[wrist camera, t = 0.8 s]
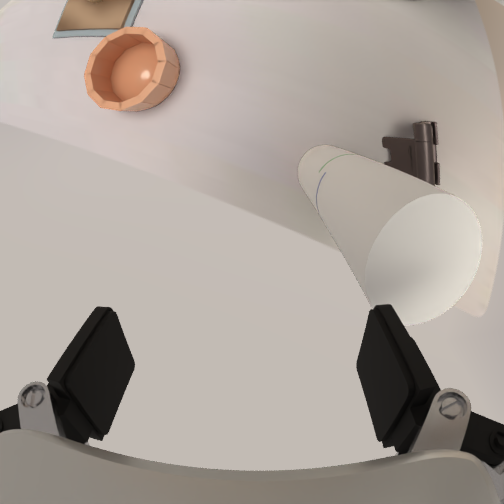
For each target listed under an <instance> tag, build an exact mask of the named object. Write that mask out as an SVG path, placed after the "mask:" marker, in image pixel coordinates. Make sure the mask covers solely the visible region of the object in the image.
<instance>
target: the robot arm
mask: <svg viewBox="0 0 504 504" xmlns="http://www.w3.org/2000/svg"><path fill="white" fill-rule="evenodd" d="M134 367H135V362H134V359H133V357H132V354H131V351H130V349H129V346H128V344H127V341H126V338H125V336H124V333H123V330H122V328H121V325H120V322H119V319H118V316H117V314H116V312H114V311H113V310H112V309H111V308H110V307H96V308H95V309H94V311H93V312H92V313H91V315H90V316H89V318H88V319H87V320H86V322H85V323H84V324H83V326H82V327H81V329H80V330H79V331H78V333H77V334H76V336H75V337H74V339H73V340H72V342H71V343H70V344H69V346H68V347H67V349H66V350H65V352H64V353H63V355H62V356H61V358H60V359H59V361H58V362H57V364H56V365H55V367H54V368H53V370H52V372H51V373H50V375H49V377H48V378H47V380H48V382H49V383H48V385H47V386H46V385H45V384H44V383H42V382H32V383H30V384H28V385H26V386H25V387H24V388H23V389H22V390H21V391H20V393H19V396H18V404H16V405H13V406H11V407H9V408H6V409H4V410H2V411H0V504H504V425H503V424H501V423H498V422H496V421H493V420H491V419H488V418H486V417H484V416H481V415H479V414H476V413H474V412H472V411H471V403H470V400H469V399H468V397H467V396H466V395H465V394H464V393H463V392H461V391H459V390H457V389H453V388H447V389H443V390H440V388H439V386H438V384H437V382H436V380H435V378H434V376H433V374H432V372H431V370H430V368H429V366H428V364H427V363H426V361H425V359H424V357H423V355H422V354H421V351H420V350H419V348H418V346H417V345H416V342H415V341H414V340H413V338H411V337H410V336H409V334H408V332H407V330H406V329H405V327H404V325H403V323H402V322H401V320H400V318H399V317H398V315H397V313H396V312H395V310H394V308H393V307H392V305H391V304H383V305H376V306H375V307H374V309H371V310H370V311H369V315H368V320H367V324H366V328H365V332H364V336H363V340H362V344H361V348H360V352H359V355H358V359H357V372H358V375H359V378H360V381H361V385H362V388H363V391H364V395H365V398H366V401H367V405H368V408H369V412H370V415H371V419H372V422H373V425H374V430H375V433H376V437H377V440H378V441H379V442H380V441H382V443H383V447H384V448H387V447H391V446H394V447H395V450H396V451H397V454H396V455H395V456H391V457H386V458H381V459H376V460H371V461H365V462H359V463H353V464H346V465H338V466H331V467H322V468H312V469H301V470H300V469H299V470H279V471H239V470H218V469H207V468H196V467H188V466H180V465H173V464H166V463H160V462H155V461H149V460H144V459H139V458H134V457H130V456H125V455H121V454H117V453H113V452H109V451H106V450H102V449H99V448H95V447H91V446H89V443H88V439H89V437H90V438H93V439H97V440H100V441H102V440H103V437H104V435H106V434H108V432H109V430H110V427H111V425H112V422H113V420H114V417H115V414H116V412H117V410H118V407H119V404H120V402H121V400H122V397H123V395H124V392H125V390H126V387H127V385H128V383H129V380H130V378H131V376H132V373H133V371H134Z"/></svg>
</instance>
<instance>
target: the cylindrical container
mask: <svg viewBox="0 0 504 504" xmlns="http://www.w3.org/2000/svg"><path fill="white" fill-rule="evenodd" d="M298 179H299V182H300V185H301V187H302V188H303V190H304V192H305V193H306V195H307V196H308V198H309V199H310V201H311V203H312V204H313V206H314V207H315V209H316V211H317V212H318V214H319V215H320V217H321V219H322V220H323V222H324V224H325V225H326V227H327V229H328V230H329V232H330V234H331V235H332V237H333V239H334V240H335V242H336V244H337V246H338V247H339V249H340V251H341V252H342V254H343V256H344V258H345V259H346V261H347V263H348V265H349V267H350V268H351V270H352V272H353V274H354V275H355V277H356V279H357V281H358V283H359V284H360V287H361V288H362V290H363V292H364V294H365V296H366V298H367V300H368V302H369V304H370V305H371V307H372V308H373V309H374V307H375V306H376V305H383V304H391V305H392V307H393V308H394V310H395V312H396V313H397V315H398V317H399V318H400V320H401V322H402V323H403V325H416V324H420V323H425V322H427V321H430V320H432V319H434V318H436V317H438V316H440V315H441V314H443V313H444V312H446V311H447V310H448V309H450V308H451V307H452V306H453V305H454V304H455V303H456V302H457V301H458V300H459V299H460V298H461V297H462V296H463V294H464V293H465V292H466V290H467V289H468V287H469V286H470V284H471V282H472V280H473V279H474V277H475V274H476V272H477V269H478V266H479V263H480V259H481V254H482V232H481V227H480V224H479V221H478V218H477V216H476V214H475V213H474V211H473V210H472V208H471V207H470V206H469V205H468V204H467V203H466V202H465V201H463V200H462V199H460V198H458V197H456V196H454V195H452V194H450V193H448V192H446V191H444V190H442V189H440V188H438V187H436V186H434V185H431V184H429V183H427V182H425V181H423V180H420V179H418V178H416V177H414V176H411V175H409V174H407V173H404V172H402V171H399V170H397V169H395V168H392V167H390V166H387V165H385V164H382V163H379V162H377V161H374V160H371V159H369V158H366V157H363V156H361V155H358V154H355V153H352V152H349V151H346V150H343V149H340V148H337V147H334V146H330V145H320V146H316V147H314V148H312V149H310V150H309V151H308V152H306V153H305V155H304V156H303V157H302V159H301V161H300V163H299V166H298Z"/></svg>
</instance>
